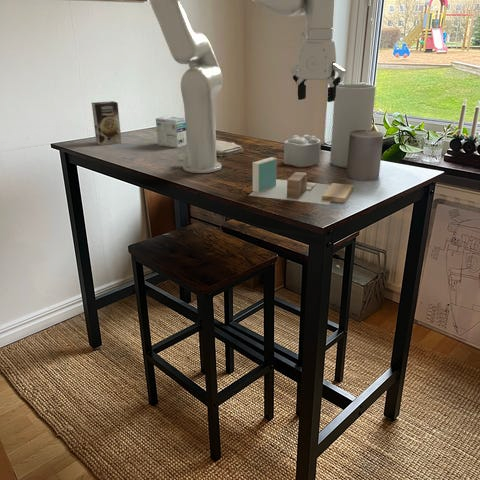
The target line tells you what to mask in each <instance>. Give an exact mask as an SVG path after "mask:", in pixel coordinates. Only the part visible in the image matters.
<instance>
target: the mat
mask: <svg viewBox="0 0 480 480" xmlns="http://www.w3.org/2000/svg"><path fill="white" fill-rule="evenodd" d="M287 180H288V179H277V178H276V186H274V187H271V188H268V189H266V190H263V191H260V192H255V191H253V190H252V192H250V194H248V196H249V197H250V196H251V197H258V198H260V197H261V198H266V199H267V198H268V199H277V200H283V201H293V202H299V203H300V202H301V203H311V204H316V205H317V204H318V205H326V206H327V205H328V206H329V205H330V204H331V202H332V201H326V200H322V195H323V194H324V193H325V191H326V190H327V189H328V187H329V186H330V185H331V184H328V183H318V182H315V183H316V185H315V186H314V188H313V189H312V190H311V191H307V190H306V191H305V193H304V194H303V195H302V196H301V197H300V198H299V199H292V198H287Z"/></svg>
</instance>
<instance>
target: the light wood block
mask: <svg viewBox="0 0 480 480" xmlns="http://www.w3.org/2000/svg"><path fill="white" fill-rule="evenodd" d="M286 180H287V198H292V199H299V198H300V197H301V196H302V195H303V194H304V193H305V191H306V190H307V191H311V190H312V189H313V188H314V186H315V185H316V183H317V182H308V172H302V171H295V172H294V173H293V174H292V175H290V176H289V178H287V179H286Z"/></svg>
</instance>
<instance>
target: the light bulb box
mask: <svg viewBox="0 0 480 480" xmlns="http://www.w3.org/2000/svg"><path fill="white" fill-rule="evenodd" d="M155 126H156V136H157V138H156V139H157V146H162V147H164V146H165V147H170V148H181V147H185V146H187V142H186V125H185V117H179V116H168V115H164V116H161V117H155Z"/></svg>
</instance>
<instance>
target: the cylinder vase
mask: <svg viewBox="0 0 480 480" xmlns="http://www.w3.org/2000/svg"><path fill="white" fill-rule="evenodd" d="M376 87H377V86H376V85H373V84H365V83H362V84H360V83H348V84H346V83H345V84H344V83H343V84H338V86H336V98H335V100H334V101H333V111H332V112H333V113H332V126H331V127H332V128H331V142H330V143H331V144H330V159H329V160H330V164H332V166H336V167H338V168H344V169H345V168H346V169H347V160H348V150H349V138H350V132H352V131H356V130H366V129H367V130H372V129H373V128H372V127H373V117H374V107H375V98H376V89H377V88H376Z"/></svg>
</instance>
